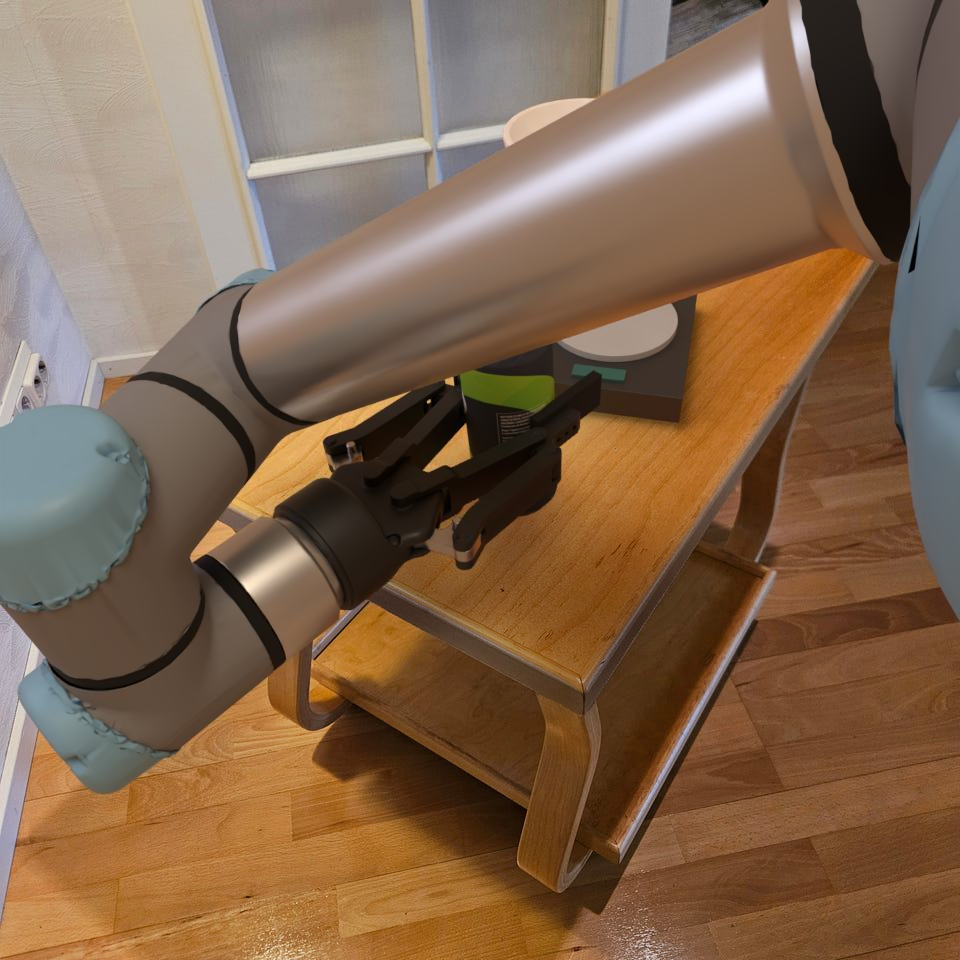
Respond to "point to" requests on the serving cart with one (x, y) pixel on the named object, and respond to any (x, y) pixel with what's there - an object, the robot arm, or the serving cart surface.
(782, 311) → the serving cart surface
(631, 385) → the scale
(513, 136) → the bowl
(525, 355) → the beverage can
